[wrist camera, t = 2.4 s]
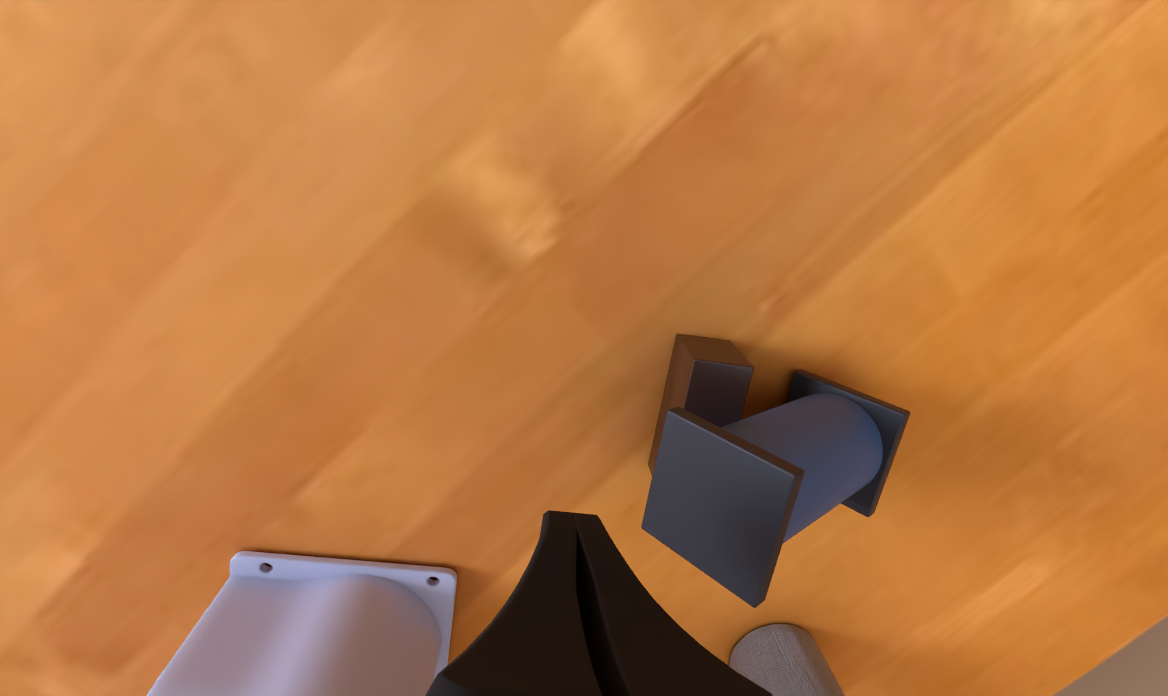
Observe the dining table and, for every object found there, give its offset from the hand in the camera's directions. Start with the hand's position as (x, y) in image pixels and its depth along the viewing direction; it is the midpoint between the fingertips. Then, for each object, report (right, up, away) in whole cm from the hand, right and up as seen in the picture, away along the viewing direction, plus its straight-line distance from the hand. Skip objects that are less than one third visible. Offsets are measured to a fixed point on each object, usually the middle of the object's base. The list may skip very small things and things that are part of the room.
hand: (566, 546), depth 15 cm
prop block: (+5, +3, +10) cm, 11 cm away
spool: (+7, +1, +6) cm, 9 cm away
